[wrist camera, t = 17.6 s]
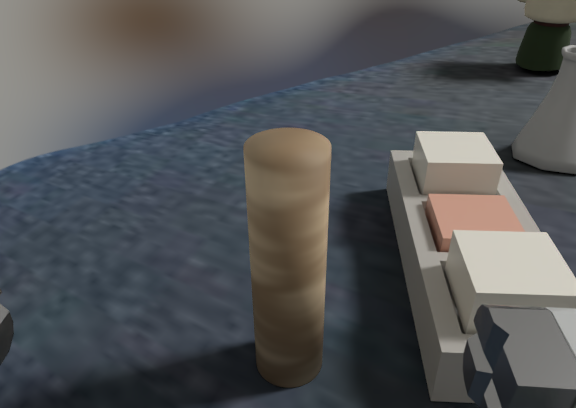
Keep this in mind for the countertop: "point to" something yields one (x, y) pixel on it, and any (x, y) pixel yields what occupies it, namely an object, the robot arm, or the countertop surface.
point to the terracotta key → (468, 216)
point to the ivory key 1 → (455, 163)
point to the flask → (553, 124)
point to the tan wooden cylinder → (288, 250)
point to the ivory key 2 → (506, 272)
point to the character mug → (546, 34)
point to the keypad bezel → (434, 279)
